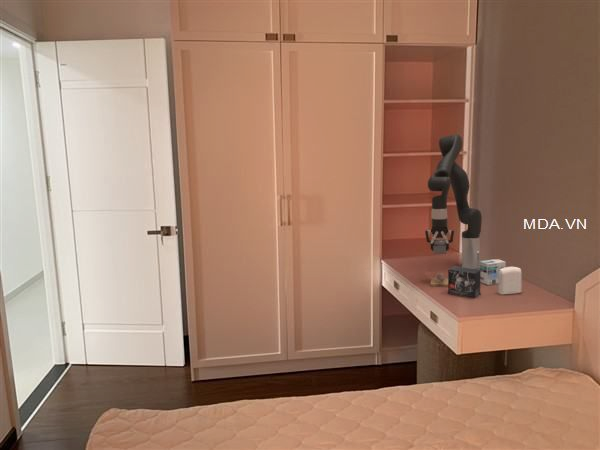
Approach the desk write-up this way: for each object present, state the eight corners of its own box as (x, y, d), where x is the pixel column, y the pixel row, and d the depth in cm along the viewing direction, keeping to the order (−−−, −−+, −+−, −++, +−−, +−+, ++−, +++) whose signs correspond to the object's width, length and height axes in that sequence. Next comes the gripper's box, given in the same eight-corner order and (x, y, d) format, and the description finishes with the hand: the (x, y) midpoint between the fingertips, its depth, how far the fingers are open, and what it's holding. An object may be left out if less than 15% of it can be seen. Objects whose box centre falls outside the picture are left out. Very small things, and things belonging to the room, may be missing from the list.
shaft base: (453, 280, 244) (453, 271, 244) (453, 287, 234) (453, 277, 233) (431, 280, 248) (430, 271, 247) (430, 286, 237) (430, 277, 237)
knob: (446, 251, 241) (445, 237, 239) (446, 254, 235) (445, 240, 234) (433, 251, 242) (433, 237, 241) (433, 254, 237) (433, 240, 236)
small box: (447, 293, 225) (447, 269, 223) (454, 290, 230) (453, 265, 228) (475, 298, 216) (475, 273, 214) (481, 294, 221) (481, 269, 219)
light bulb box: (487, 285, 234) (487, 264, 232) (478, 281, 240) (479, 261, 239) (506, 282, 237) (506, 261, 235) (497, 279, 243) (497, 258, 241)
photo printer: (501, 295, 218) (501, 269, 216) (496, 292, 222) (496, 266, 220) (522, 293, 219) (523, 267, 217) (517, 290, 223) (518, 265, 221)
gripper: (454, 216, 237) (454, 249, 240) (424, 216, 241) (425, 248, 244) (454, 218, 230) (455, 252, 233) (424, 218, 234) (424, 252, 237)
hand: (439, 250), depth 238 cm, fingers closed on knob, 6 cm apart
